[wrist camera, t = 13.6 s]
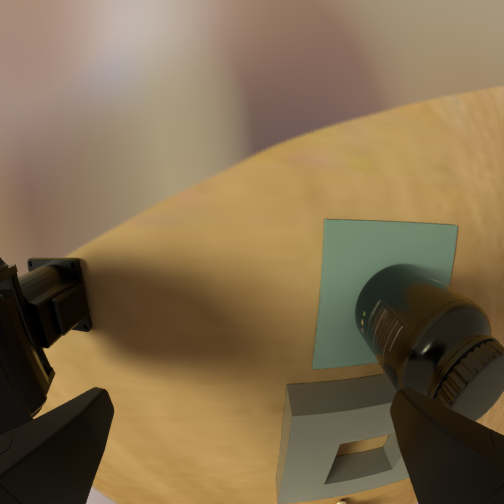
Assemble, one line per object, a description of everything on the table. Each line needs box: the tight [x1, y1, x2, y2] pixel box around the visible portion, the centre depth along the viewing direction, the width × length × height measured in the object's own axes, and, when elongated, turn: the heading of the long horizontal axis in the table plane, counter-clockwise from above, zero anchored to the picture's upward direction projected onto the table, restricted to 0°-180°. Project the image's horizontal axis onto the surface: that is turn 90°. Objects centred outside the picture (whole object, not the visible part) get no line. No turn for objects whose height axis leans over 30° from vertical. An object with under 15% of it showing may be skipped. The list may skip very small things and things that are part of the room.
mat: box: [312, 219, 458, 370], centre depth 20 cm, size 12×12×1 cm
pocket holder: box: [276, 374, 409, 504], centre depth 22 cm, size 18×18×4 cm
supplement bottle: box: [355, 264, 504, 422], centre depth 14 cm, size 7×7×12 cm
